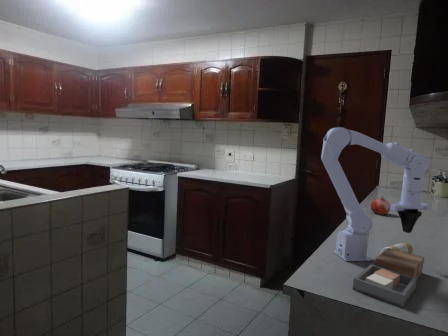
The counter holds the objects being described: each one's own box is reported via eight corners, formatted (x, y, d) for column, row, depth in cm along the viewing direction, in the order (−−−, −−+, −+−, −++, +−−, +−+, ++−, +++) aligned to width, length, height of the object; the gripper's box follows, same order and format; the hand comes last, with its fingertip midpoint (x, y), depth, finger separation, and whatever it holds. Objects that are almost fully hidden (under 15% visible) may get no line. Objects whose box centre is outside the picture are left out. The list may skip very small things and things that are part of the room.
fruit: (370, 210, 183) (372, 193, 182) (389, 213, 179) (391, 195, 178) (369, 214, 175) (371, 195, 174) (389, 217, 171) (391, 198, 170)
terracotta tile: (380, 276, 95) (381, 268, 95) (399, 283, 91) (400, 275, 91) (372, 281, 92) (373, 272, 91) (391, 288, 88) (392, 279, 88)
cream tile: (365, 277, 88) (364, 286, 88) (384, 285, 84) (383, 294, 84) (374, 273, 91) (373, 282, 91) (393, 280, 87) (392, 289, 87)
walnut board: (386, 262, 108) (388, 247, 107) (421, 272, 101) (424, 257, 101) (373, 274, 98) (375, 258, 97) (411, 286, 91) (414, 269, 90)
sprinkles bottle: (397, 247, 119) (376, 253, 111) (406, 239, 116) (385, 244, 108) (407, 257, 116) (386, 264, 108) (416, 250, 114) (396, 256, 106)
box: (369, 273, 98) (370, 264, 97) (415, 288, 90) (417, 278, 90) (352, 289, 87) (353, 278, 87) (402, 307, 79) (404, 295, 79)
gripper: (417, 188, 112) (412, 227, 114) (384, 188, 107) (379, 229, 108) (437, 192, 105) (431, 233, 107) (403, 193, 100) (397, 236, 102)
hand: (406, 232), depth 107 cm, fingers closed
